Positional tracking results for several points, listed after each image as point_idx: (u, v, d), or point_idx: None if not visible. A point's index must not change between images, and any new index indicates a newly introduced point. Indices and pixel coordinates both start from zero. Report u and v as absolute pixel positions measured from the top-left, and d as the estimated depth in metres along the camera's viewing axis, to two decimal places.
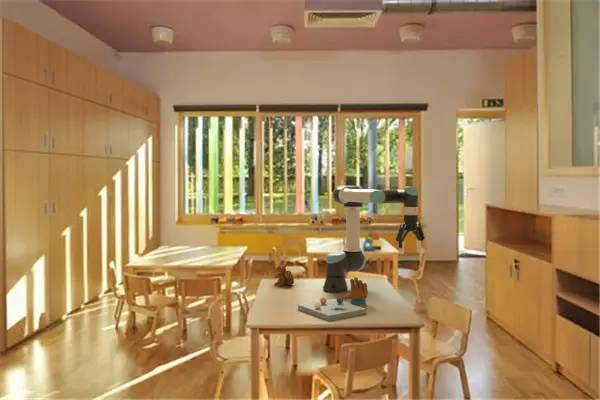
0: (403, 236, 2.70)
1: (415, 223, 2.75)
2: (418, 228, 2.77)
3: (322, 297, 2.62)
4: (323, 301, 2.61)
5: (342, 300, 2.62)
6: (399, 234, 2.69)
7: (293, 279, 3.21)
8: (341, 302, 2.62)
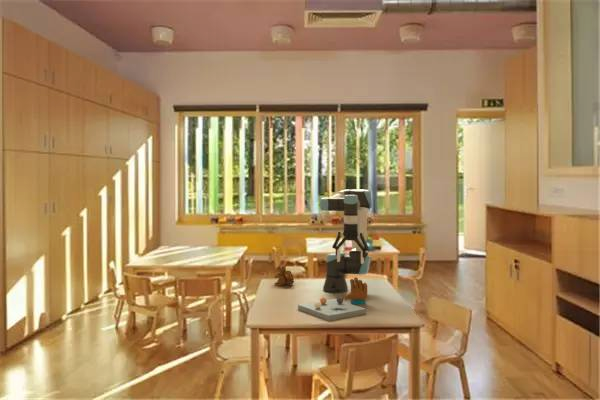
0: (338, 244, 2.72)
1: (354, 232, 2.68)
2: None
3: (322, 297, 2.62)
4: (323, 301, 2.61)
5: (342, 300, 2.62)
6: None
7: (293, 279, 3.22)
8: (341, 302, 2.62)
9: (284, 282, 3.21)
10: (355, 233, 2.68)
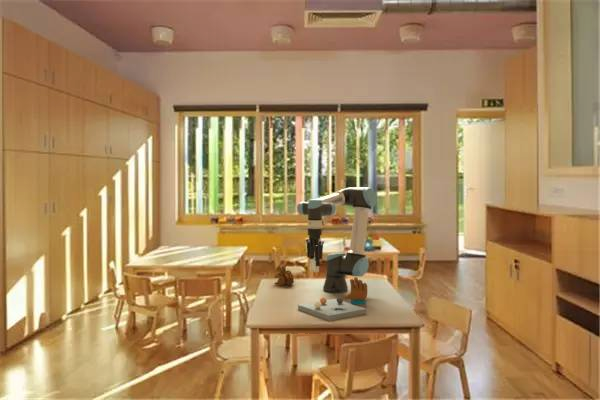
0: (309, 252, 2.70)
1: (316, 237, 2.65)
2: None
3: (322, 297, 2.62)
4: (323, 301, 2.61)
5: (342, 300, 2.62)
6: None
7: None
8: (341, 302, 2.62)
9: (284, 282, 3.22)
10: (316, 238, 2.65)
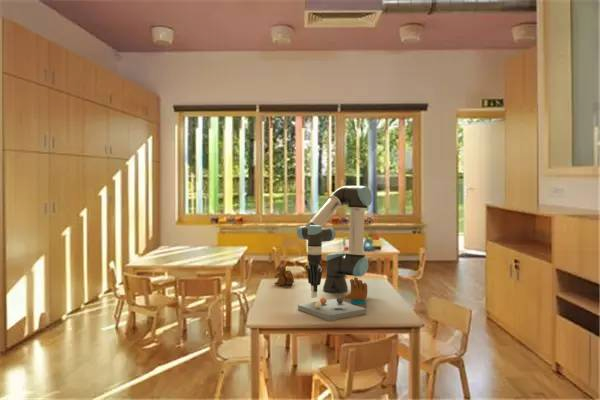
0: (310, 278, 2.70)
1: (316, 263, 2.65)
2: None
3: (322, 297, 2.62)
4: (323, 301, 2.61)
5: (342, 300, 2.62)
6: None
7: (293, 279, 3.23)
8: (341, 302, 2.62)
9: (284, 282, 3.22)
10: (316, 265, 2.65)
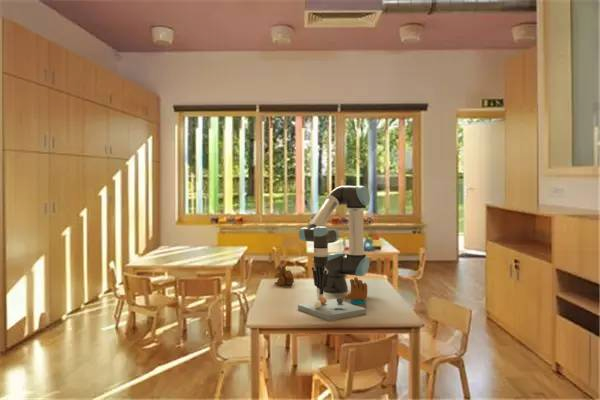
0: None
1: (322, 266, 2.60)
2: None
3: (322, 297, 2.62)
4: (323, 301, 2.61)
5: (342, 300, 2.62)
6: None
7: (293, 279, 3.23)
8: (341, 302, 2.62)
9: (284, 282, 3.22)
10: (322, 267, 2.60)
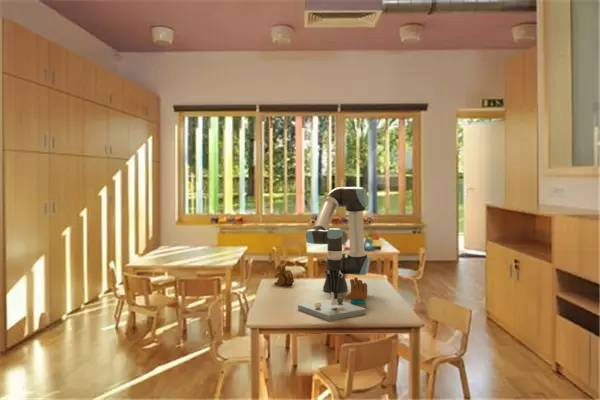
0: (330, 285, 2.55)
1: (336, 269, 2.51)
2: None
3: None
4: None
5: (342, 300, 2.62)
6: None
7: None
8: (341, 302, 2.62)
9: (284, 282, 3.23)
10: (337, 270, 2.51)
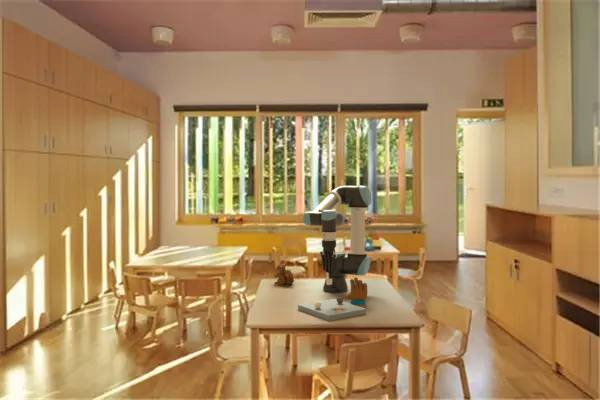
0: (325, 265, 2.62)
1: (331, 250, 2.57)
2: None
3: None
4: None
5: (342, 300, 2.62)
6: None
7: (293, 278, 3.24)
8: (341, 302, 2.62)
9: (284, 281, 3.23)
10: (331, 251, 2.57)
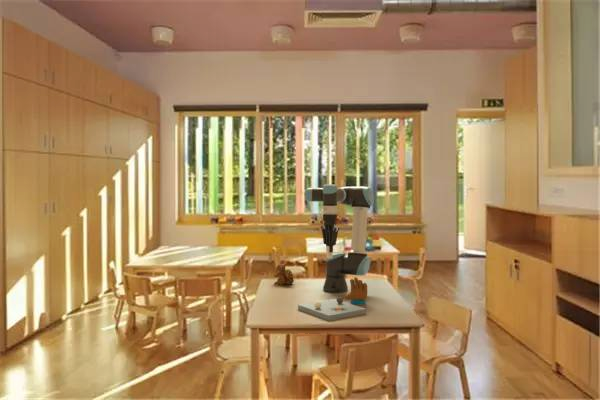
0: (326, 239, 2.65)
1: (332, 223, 2.60)
2: None
3: None
4: None
5: (342, 300, 2.62)
6: None
7: (293, 278, 3.25)
8: (341, 302, 2.62)
9: (284, 281, 3.24)
10: (332, 224, 2.60)
